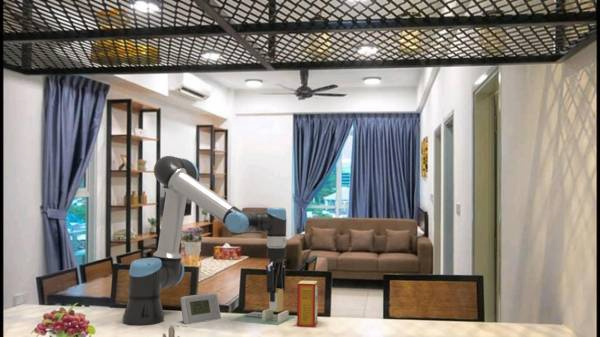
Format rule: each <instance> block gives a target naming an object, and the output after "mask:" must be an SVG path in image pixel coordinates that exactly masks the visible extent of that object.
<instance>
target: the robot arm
mask: <svg viewBox="0 0 600 337" xmlns="http://www.w3.org/2000/svg"><path fill="white" fill-rule="evenodd" d="M153 174H154V177H155V179H156V180H157V181H158V182H159V183H160V184H162V185H163V186H162V189H163V190H164V192H165V199H164V206H163V210H162V211H163V212H162V218H161V225H160V232H159V238H158V239H159V240H158V245H157V250H156V251H155V252H154V253H153V254H152V257H145V258H139V259H134V260H133V261H131V262H130V266H129V270H128V271H129V272H128V274H129V278H128V299H127V300H128V301H127V305H126V306H125V310H124V313H123V315H122V323H123V324H125V325H130V326H131V325H133V326H134V325H135V326H144V325H145V326H146V325H153V324H154V325H155V324H158V323H162V322H164V321H165V313H164V310H163V305H162V302H161V290H163V289H170V288H172V287H175V286H177V285H178V284H180V282H181V281H182V280H183V278H184V276H185V266H184V265H183V263H182V255H181V254H180V247H181V246H180V244H181V238H182V234H183V233H182V231H183V226H184V219H185V211H186V205H187V199H188V200H189V201H191V202H192V203H194V204H196V206H198V207H200V208H201V209H203V210H204V211H205V212H207V213H208V214H210V215H211V216H212V217H213V218H216V219H217V221H220V222H221V223H223V224H224V225H225V226H226V229H227V230H228V231H230V232H231V233H235V234H242V233H257V232H258V233H266V247H267V249H266V257H267V258H269V264H268V265H265V268H266V269H265V270H266V293H268V294H269V293H270V310H273V312H274V311H277V293H276V288H278V289H283V292H285V291H286V268H287V262H284V259H285V258H286V257H287V248H286V247H287V241H288V239H287V210H286V208H284V207H267V209H266V212H245V211H243V210H241V209H239V208H238V207H236V206H235V205H234V204H233V203H230V202H229V201H228V200H227V199H225V198H223V197H221V196H220V195H219V194H217V193H216V192H215V191H213V190H212V189H210V188H208V187H207V186H205V185H204V184H203V183H202V182H200V181H198V180H199V176H200V175H199V169H198V167H197V166H196V165H195V163H194V162H192V161H190V160H189V159H187V158H181V157H177V156H174V155H173V156H172V155H166V156H162V157H161V158H158V160H157V161H156V162H155V164H154V167H153Z"/></svg>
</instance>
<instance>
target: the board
mask: <svg viewBox="0 0 600 337" xmlns="http://www.w3.org/2000/svg"><path fill="white" fill-rule="evenodd" d="M289 314H290V312H289V310H283V311H280V313H279V312H278V314H274V311H269V308H267V309H265V310H262V312H261V311H252V312H249V313H247V314H243V315H241V316H238V317H235V318H232V319H230V321H232V322H241V323H243V322H244V323H250V324H259V325H260V324H261V325H270V326H271V325H272V326H279V325H282V324H284V323H287V322H289V321H291V320H292V319H295V318H296V316H293V315H289Z"/></svg>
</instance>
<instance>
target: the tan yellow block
mask: <svg viewBox="0 0 600 337" xmlns="http://www.w3.org/2000/svg"><path fill="white" fill-rule="evenodd" d="M283 289H284V288H283ZM283 289H278V288H276V293H277V311H273V310H270V293H268V306H269V307H268V309H269V311H273V313H275V312H276V313H277V312H278V313H279V312H280V313H281V312H283V311H284V291H283Z"/></svg>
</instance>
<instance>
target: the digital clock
mask: <svg viewBox="0 0 600 337" xmlns="http://www.w3.org/2000/svg"><path fill="white" fill-rule="evenodd" d="M218 297H219V296H218V294H217V293H216V292H210V293H200V294H199V293H198V294H194V295H193V294H191V295H185V296H181V297H180V298H179V300H180V307H181V309H180V310H181V314H182V321H183V325H193V324H199V323H205V322H211V321H219V320H221V319H222V315H221V314H222V313H221V309H220V304H219V298H218ZM185 327H186V328H187V327H188V326H185Z"/></svg>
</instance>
